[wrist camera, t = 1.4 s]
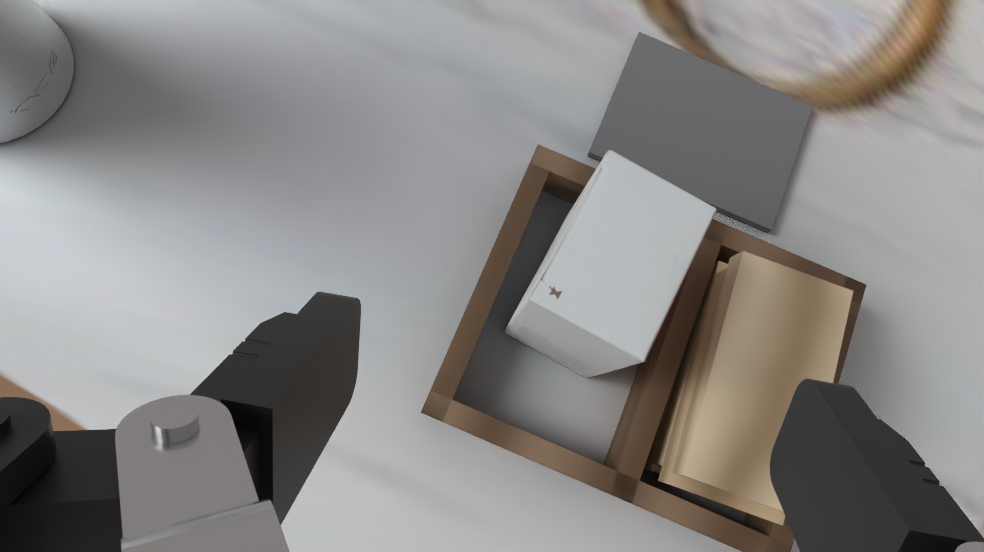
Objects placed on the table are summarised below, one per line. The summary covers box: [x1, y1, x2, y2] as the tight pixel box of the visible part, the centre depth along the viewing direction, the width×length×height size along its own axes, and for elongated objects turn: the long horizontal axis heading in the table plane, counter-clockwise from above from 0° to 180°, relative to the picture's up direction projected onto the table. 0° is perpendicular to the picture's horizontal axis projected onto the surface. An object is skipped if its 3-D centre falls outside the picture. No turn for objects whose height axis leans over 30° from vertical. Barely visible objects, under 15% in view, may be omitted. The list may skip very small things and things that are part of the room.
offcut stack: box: [644, 251, 853, 525], centre depth 34 cm, size 6×12×6 cm, turn 161°
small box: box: [505, 150, 717, 378], centre depth 32 cm, size 8×6×10 cm
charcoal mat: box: [588, 32, 813, 233], centre depth 39 cm, size 12×9×1 cm
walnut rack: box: [421, 145, 866, 552], centre depth 35 cm, size 20×16×3 cm
